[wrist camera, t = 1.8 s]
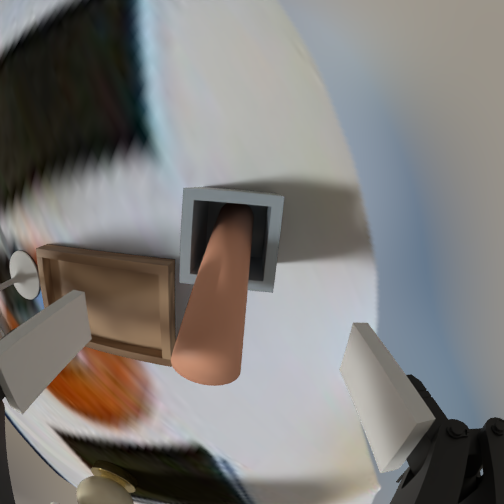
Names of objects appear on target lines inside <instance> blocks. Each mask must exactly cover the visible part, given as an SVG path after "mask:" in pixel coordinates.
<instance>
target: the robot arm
mask: <svg viewBox="0 0 504 504" xmlns="http://www.w3.org/2000/svg"><path fill="white" fill-rule="evenodd" d="M91 339H92V337H91V332H90V326H89V320H88V313H87V306H86V299H85V292H82V291H77V290H72V291H71V292H69V293H68V294H66V295H65V296H63V297H62V298H60V299H58V300H57V301H55V302H54V303H52V304H51V305H49V306H48V307H46V308H45V309H43V310H42V311H41V312H39V313H38V314H36V315H35V316H33V317H32V318H30V319H29V320H28V321H26V322H25V323H23V324H22V325H20V326H19V327H18V328H15V329H13V330H12V331H11V332H9V333H8V334H7V336H6V335H5V336H4V337H2V338H1V340H0V504H15V500H14V496H13V492H12V486H11V481H10V475H9V469H8V462H7V452H6V439H5V407H4V403H3V401H2V399H3V398H4V397H6V399H7V401H8V402H9V404H10V406H11V407H12V408H13V409H15V410H16V411H18V412H19V413H21V414H22V415H23V413H24V412H25V411H26V410H27V409H28V408H29V406H30V405H31V404H32V403H33V402H34V401H35V399H36V398H37V397H38V396H39V395H40V394H41V393H42V392H43V390H44V389H45V388H46V387H47V386H48V385H49V384H50V383H51V382H52V380H53V379H54V378H55V377H56V376H57V375H58V374H59V373H60V372H61V371H62V370H63V368H64V367H65V366H66V365H67V364H68V363H69V362H70V361H71V360H72V359H73V358H74V357H75V356H76V355H77V354H78V353H79V351H80V350H81V349H82V348H83V347H84V346H85V345H86V344H87V343H88V342H89V341H90V340H91ZM340 372H341V374H342V377H343V379H344V381H345V384H346V386H347V389H348V391H349V394H350V396H351V398H352V401H353V403H354V406H355V408H356V411H357V413H358V416H359V418H360V421H361V423H362V426H363V428H364V431H365V434H366V436H367V439H368V441H369V444H370V447H371V449H372V452H373V454H374V457H375V459H376V462H377V465H378V468H379V471H380V473H384V472H388V471H392V470H396V469H399V468H400V467H401V465H402V464H403V463H404V462H405V461H406V460H407V462H408V464H409V467H408V468H407V470H406V471H405V472H404V473H403V474H402V475H401V476H400V477H399V479H398V480H397V481H396V482H399V481H400V480H401V479H402V480H401V482H400V484H399V487H398V489H397V491H396V493H395V495H394V497H393V499H392V501H391V502H390V504H504V420H502V419H500V418H496V417H495V418H490V419H489V420H488V421H487V422H486V423H485V425H484V426H483V428H481V429H469V428H468V427H467V425H465V424H464V423H463V422H461V421H459V420H455V419H450V420H448V419H447V417H446V416H445V414H444V413H443V412H442V410H441V409H440V407H439V406H438V405H437V403H436V402H435V400H434V399H433V398H432V397H431V395H430V393H429V392H428V391H426V388H425V387H424V385H423V384H422V382H421V381H419V380H418V379H417V378H415V377H414V376H413V375H405V373H404V372H403V370H402V369H401V368H400V366H399V365H398V363H397V362H396V361H395V359H394V358H393V356H392V355H391V354H390V352H389V351H388V350H387V348H386V347H385V346H384V344H383V343H382V342H381V340H380V339H379V337H378V336H377V335H376V333H375V332H374V331H373V330H372V328H371V327H370V326H369V324H368V323H353V325H352V329H351V333H350V336H349V340H348V343H347V347H346V350H345V354H344V357H343V360H342V363H341V366H340ZM482 468H483V475H482V476H481V475H480V470H481V469H482Z"/></svg>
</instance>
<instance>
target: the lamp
mask: <svg viewBox="0 0 504 504" xmlns="http://www.w3.org/2000/svg"><path fill="white" fill-rule="evenodd" d="M91 471H92V473H93V475H94V476H91V477H88V478H86V479H84V480H82V481H81V482H80V484H79V485H78V487H77V491H76V497H77V501H78V504H134V503H133V499H132V497H131V495H130V494H129V492H135V490H136V487H137V484H138V481H137V479H136V478H135V477H134V476H133V475H132V474H131V473H129V472H128V471H126V470H124V469H123V468H121V467H119V466H117V465H114V464H112V463H109V462H106V461H101V460H98V461H95V463H94V465H93V467H92V469H91ZM50 504H58V503H56V502H51V503H50Z"/></svg>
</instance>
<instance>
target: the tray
mask: <svg viewBox="0 0 504 504" xmlns="http://www.w3.org/2000/svg"><path fill="white" fill-rule="evenodd" d="M36 253H37V263H38V271H39V279H40V285H41V292H42V297H43V303H44V308H46V307H48V306H49V305H51V304H52V303H54V302H55V301H57V300H58V299H60V298H62V297H63V296H65V295H66V294H68V293H69V292H71V291H72V290H77V291H82V292H85V299H86V306H87V313H88V320H89V326H90V332H91V337H92V339H91V340H90V341H89V342H88V343H87V344H86V345H85V347H88V348H92V349H95V350H99V351H103V352H106V353H110V354H114V355H118V356H122V357H126V358H131V359H135V360H140V361H144V362H149V363H154V364H159V365H165V366H170V367H172V364H171V356H172V353H173V349H174V346H175V343H176V336H175V259H166V258H157V257H148V256H139V255H130V254H122V253H113V252H105V251H97V250H88V249H80V248H72V247H64V246H57V245H49V244H47V245H44V246H41V247H39V248H36Z"/></svg>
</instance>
